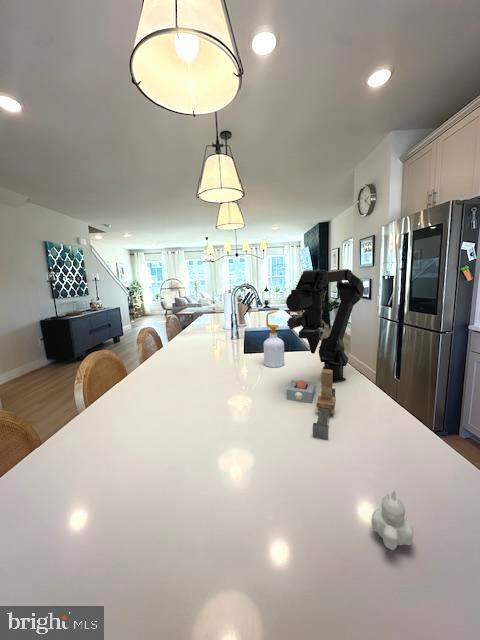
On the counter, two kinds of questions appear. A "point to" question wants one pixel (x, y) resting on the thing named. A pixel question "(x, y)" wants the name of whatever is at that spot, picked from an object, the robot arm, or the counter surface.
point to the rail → (322, 422)
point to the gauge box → (300, 392)
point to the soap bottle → (273, 347)
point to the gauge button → (301, 384)
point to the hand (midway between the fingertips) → (312, 353)
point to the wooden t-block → (326, 391)
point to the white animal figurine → (392, 522)
